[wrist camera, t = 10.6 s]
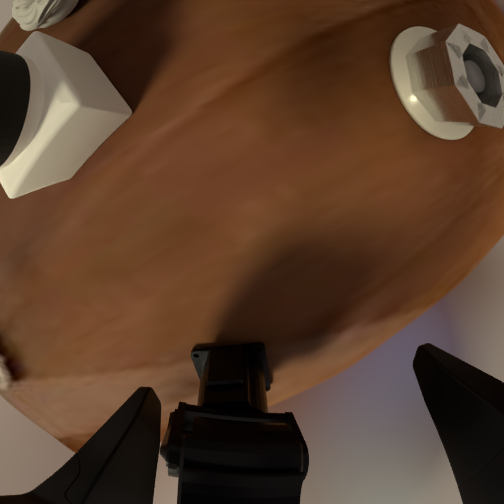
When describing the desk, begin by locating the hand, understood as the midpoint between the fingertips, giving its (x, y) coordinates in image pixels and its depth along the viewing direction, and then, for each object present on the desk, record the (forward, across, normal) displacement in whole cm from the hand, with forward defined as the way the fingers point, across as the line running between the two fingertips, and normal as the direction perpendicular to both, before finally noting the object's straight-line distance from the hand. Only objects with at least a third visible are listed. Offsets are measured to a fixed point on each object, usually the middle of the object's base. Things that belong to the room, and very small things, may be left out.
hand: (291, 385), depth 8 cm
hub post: (+12, -16, -12) cm, 24 cm away
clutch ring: (+12, -16, -12) cm, 23 cm away
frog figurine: (+13, +13, -23) cm, 29 cm away
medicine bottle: (+13, +12, -12) cm, 21 cm away
